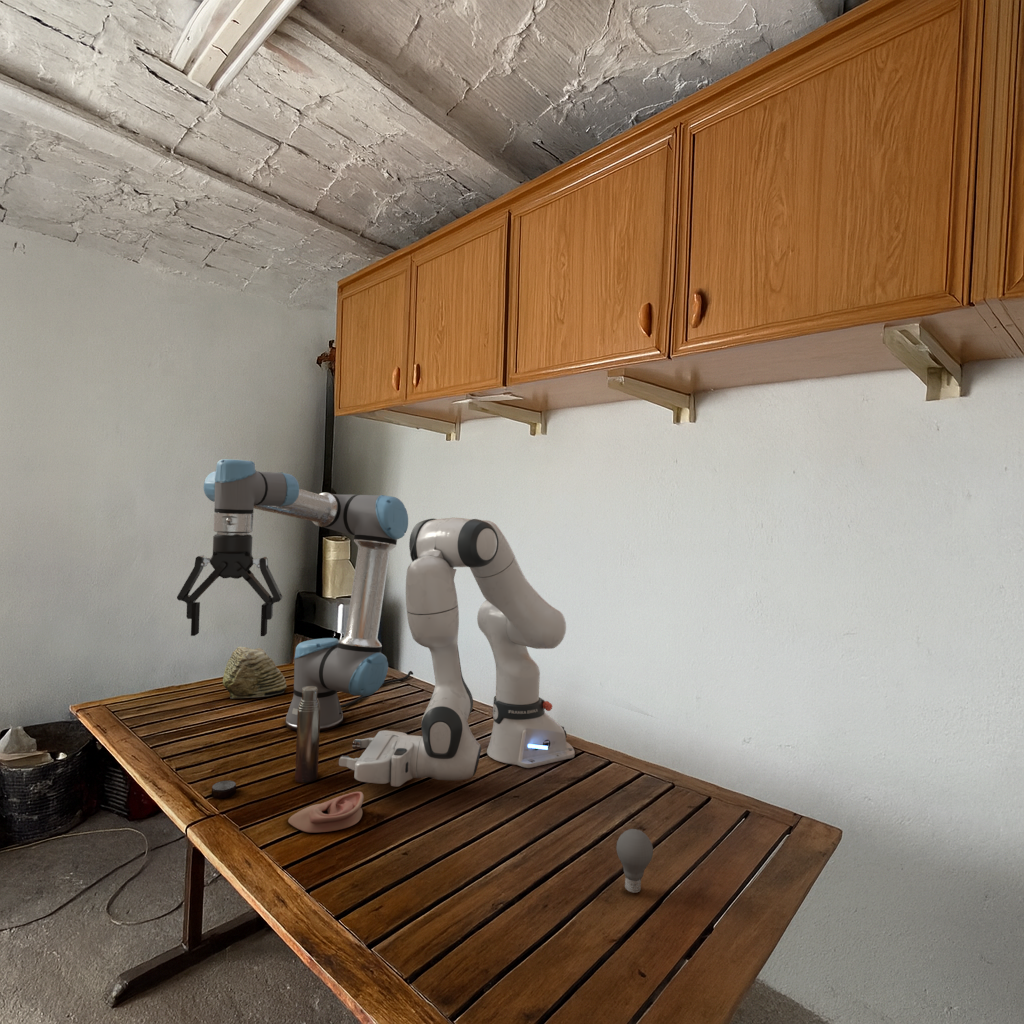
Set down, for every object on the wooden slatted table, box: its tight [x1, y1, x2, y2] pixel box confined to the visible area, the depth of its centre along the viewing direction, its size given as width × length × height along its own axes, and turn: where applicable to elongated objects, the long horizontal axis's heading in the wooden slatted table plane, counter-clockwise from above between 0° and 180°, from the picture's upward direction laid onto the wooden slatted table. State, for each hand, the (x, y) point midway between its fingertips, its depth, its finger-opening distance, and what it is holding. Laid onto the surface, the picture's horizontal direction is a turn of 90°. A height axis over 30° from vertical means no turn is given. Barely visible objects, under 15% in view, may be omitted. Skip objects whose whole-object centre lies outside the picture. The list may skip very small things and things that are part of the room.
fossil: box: [222, 646, 288, 699], centre depth 198 cm, size 9×18×15 cm, turn 132°
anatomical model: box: [287, 791, 364, 834], centre depth 124 cm, size 13×4×12 cm
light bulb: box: [615, 828, 654, 894], centre depth 106 cm, size 6×6×10 cm
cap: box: [211, 780, 237, 800], centre depth 133 cm, size 5×5×2 cm
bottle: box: [294, 686, 321, 784], centre depth 142 cm, size 5×5×20 cm
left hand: (229, 634), depth 133 cm, fingers open, 13 cm apart
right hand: (346, 752), depth 142 cm, fingers open, 8 cm apart
